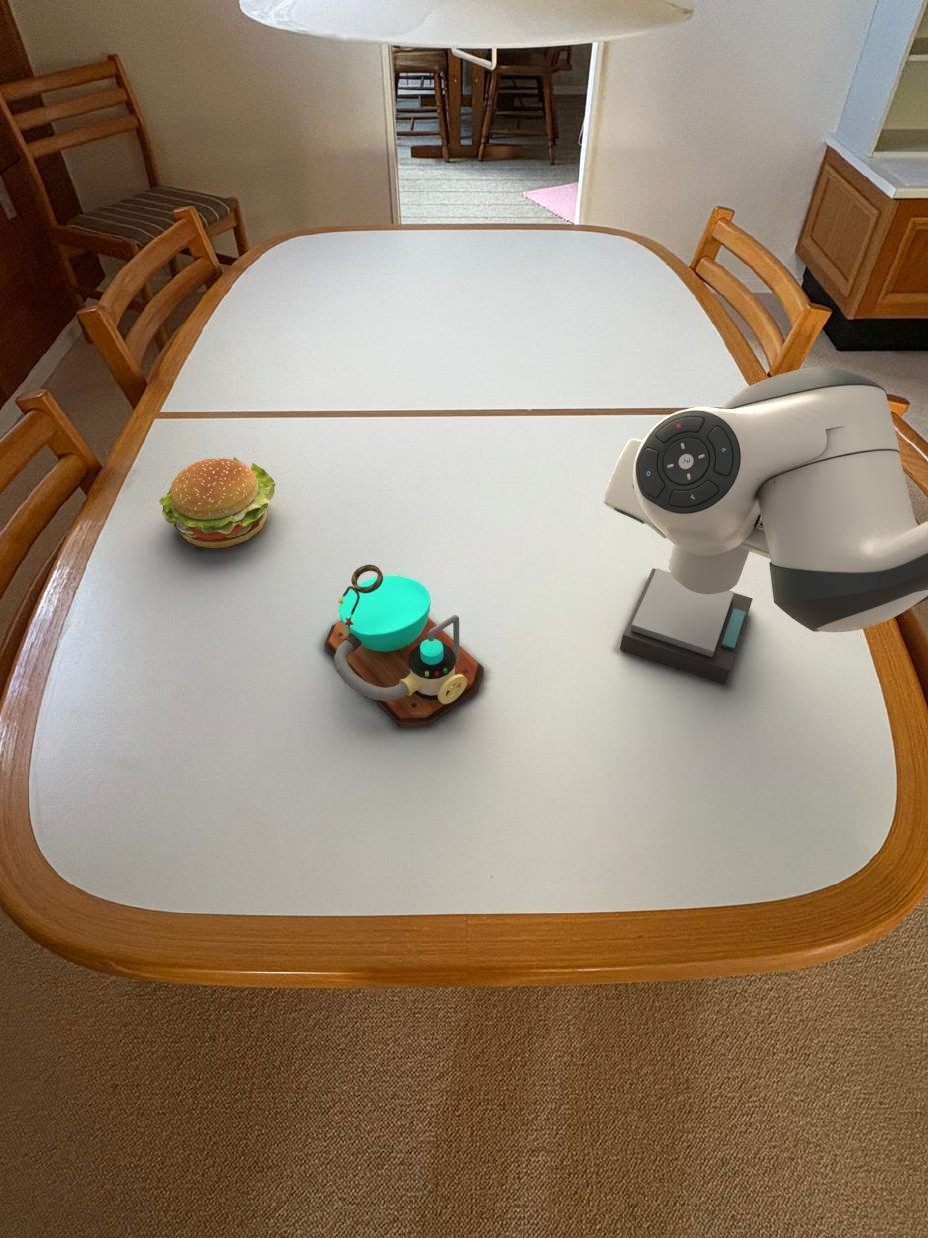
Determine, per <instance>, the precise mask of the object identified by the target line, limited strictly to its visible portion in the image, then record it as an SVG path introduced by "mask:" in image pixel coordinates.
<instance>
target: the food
mask: <svg viewBox="0 0 928 1238" xmlns="http://www.w3.org/2000/svg"><path fill="white" fill-rule="evenodd" d="M275 487H276V482H275V480H274V479H273V477H272V476H270V475H269V474H268V472H266V470H265V469H263V468H262V467H260V466H259V465H257V464H256V463H251V466H250V467H249V466H248V465H247V464H245V463H243V462H241V461H240V460H239V459H237V458H236V456H233V459H232V458H230V459H229V458H225V457H218V458H217V457H216V458H206V459H204V460H203V459H202V460H200V461H197V462H196V461H195V462H194V463H192V464H191V465H188V466H187V467H185V468H184V469H183V470H181V472H178V474H177V476H175V478H174V479H173V480H172V482H171V485H170V487H169V491H168V492H167V493H166V494H165V495H164V496H162V497H160V499H159V500H158V501H159V504H160V505H161V506H162V511H161V514H162V516H163V517H164V521H165V522H166V523H168V524H169V525H171V524H172V525H173V526H174V528H175V529H176V530H177V531H178V532H179V533H180V536H182V537H183V538H184V539H185V540H186V541H187V542H188V543H190V544H193V545H195V546H197V547H200V548H208V549H209V548H210V549H221V548H229V547H232V546H235V545H238V544H241V543H244V542H247V541H248V540H249V539H252V537H253V536H254V535H256V534H257V533H258V532H260V531H261V530H262V529H263V527H264V525H265V522H266V520H267V518H268V507H269V503H271V501H272V499H273V497H274V495H275Z"/></svg>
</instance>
